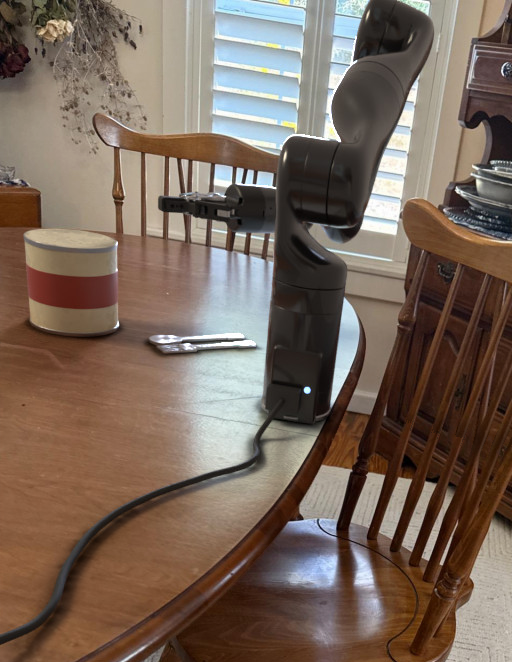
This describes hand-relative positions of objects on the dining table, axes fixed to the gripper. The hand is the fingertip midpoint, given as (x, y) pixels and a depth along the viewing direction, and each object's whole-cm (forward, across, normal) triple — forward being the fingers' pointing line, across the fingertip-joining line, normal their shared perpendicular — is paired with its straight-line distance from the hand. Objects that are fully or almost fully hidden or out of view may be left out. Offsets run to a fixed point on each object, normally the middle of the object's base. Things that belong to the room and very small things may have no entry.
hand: (160, 203), depth 121 cm
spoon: (-2, +11, +18) cm, 22 cm away
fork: (-2, +15, +18) cm, 24 cm away
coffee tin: (+14, +1, +18) cm, 23 cm away
